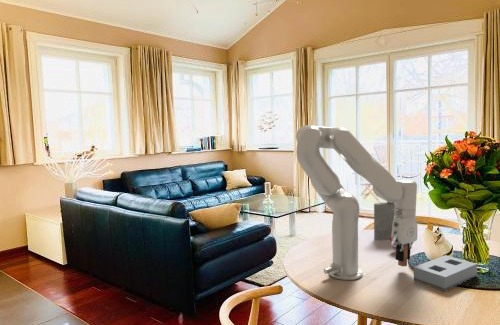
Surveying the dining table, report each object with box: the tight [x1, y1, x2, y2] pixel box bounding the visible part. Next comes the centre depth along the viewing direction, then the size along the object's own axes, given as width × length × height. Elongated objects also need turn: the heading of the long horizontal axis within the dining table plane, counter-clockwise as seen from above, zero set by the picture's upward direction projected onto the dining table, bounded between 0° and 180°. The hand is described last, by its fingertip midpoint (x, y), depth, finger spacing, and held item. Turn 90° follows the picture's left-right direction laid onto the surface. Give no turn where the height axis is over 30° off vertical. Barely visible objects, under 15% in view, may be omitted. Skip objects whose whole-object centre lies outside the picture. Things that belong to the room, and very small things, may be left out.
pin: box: [397, 244, 408, 267], centre depth 151 cm, size 3×3×9 cm
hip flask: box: [373, 201, 395, 241], centre depth 192 cm, size 16×4×20 cm, turn 93°
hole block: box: [413, 254, 478, 292], centre depth 143 cm, size 20×12×5 cm, turn 123°
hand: (402, 259), depth 151 cm, fingers closed on pin, 3 cm apart
